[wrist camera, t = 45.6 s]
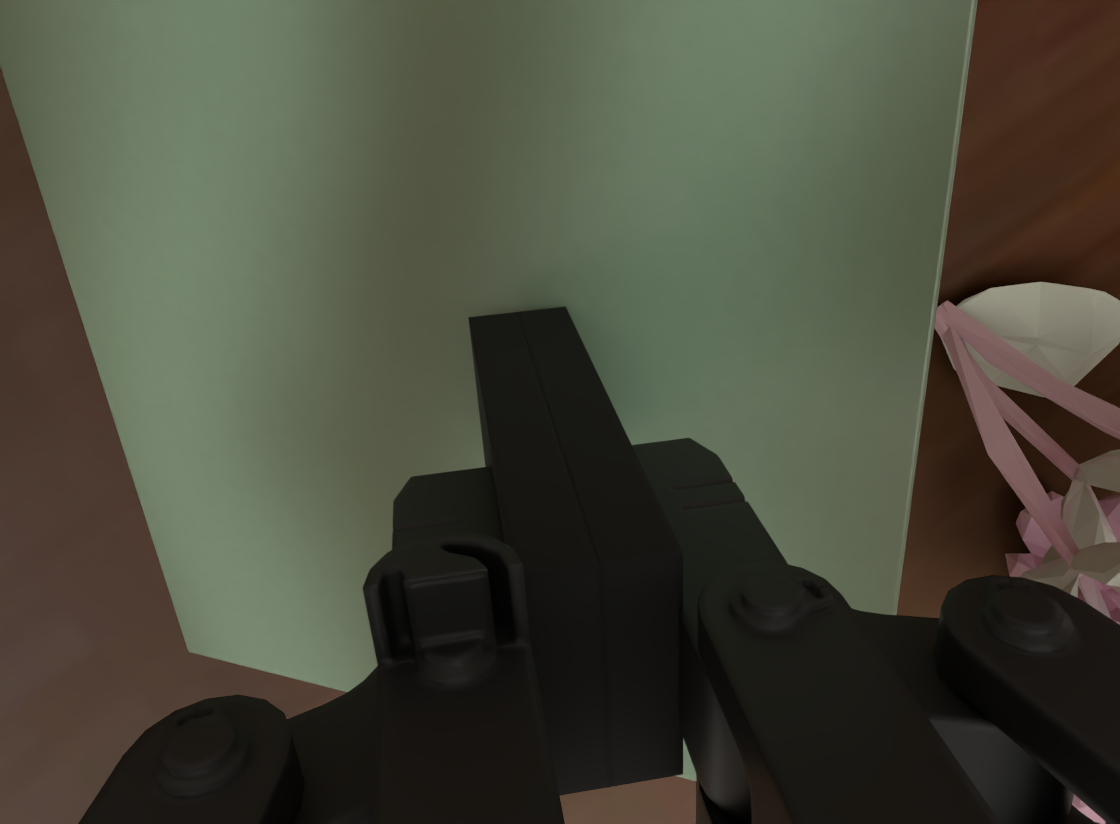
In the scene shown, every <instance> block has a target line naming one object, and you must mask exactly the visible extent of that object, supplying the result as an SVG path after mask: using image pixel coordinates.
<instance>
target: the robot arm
mask: <svg viewBox="0 0 1120 824" xmlns="http://www.w3.org/2000/svg"><path fill="white" fill-rule="evenodd" d="M468 318H469V327H470V336H471V345H472V353H473V362H474V371H475V380H476V388H477V397H478V406H479V415H480V423H481V432H482V441H483V450H484V459H485V467H481V468H473V469H466V470H458V471H450V472H442V473H435V474H427V475H419V476H412V477H410V479H409V480H408V481H407V483H406V484H405V485H404V487H403V488H402V490H401V491H400V492H399V494H398V495H397V497H396V498H395V499H394V501H393V532H392V550H391V551H389V552H387V553H386V554H385V555H384V556H383V557H382V558H381V559H380V560H379V561H378V562H377V563H376V564H375V565H374V566H373V567H372V568H371V569H370V570H369V573H368V575H367V578H366V580H365V583H364V586H363V588H362V589H363V594H364V599H365V604H366V609H367V614H368V619H369V624H370V629H371V634H372V639H373V644H374V649H375V654H376V659H377V664H378V666H377V667H376V668H375V669H374V670H373V671H372V672H371V674H370V675H369V676H368V677H367V678H366V679H365V680H364V681H363V682H361V683H360V684H358V685H357V686H356V687H354V688H353V689H352V690H350V691H349V692H347V693H346V694H344V695H342V696H340V697H338V698H336V699H334V700H332V701H330V702H328V703H326V704H324V705H322V706H319V707H317V708H314V709H312V710H309V711H307V712H304V713H302V714H299V715H297V716H295V717H292V718H290V719H286V717H285V714H284V713H283V712H282V711H281V710H279V709H278V708H276V707H275V706H274V705H272V704H271V703H269V702H268V701H267V700H264V699H259V698H254V697H248V696H243V695H233V696H225V697H217V698H209V699H205V700H202V701H200V702H197V703H195V704H192V705H189V706H187V707H184V708H181V709H179V710H176V711H174V712H173V713H171V714H170V715H168V716H167V717H165V718H164V719H162V720H161V721H159V722H158V723H156V724H155V725H153V726H152V727H150V728H149V729H147V730H146V731H145V732H144V733H143V734H142V735H141V736H140V737H139V738H138V739H137V741H136V742H135V743H134V744H133V745H132V746H131V747H130V748H129V749H128V751H127V752H126V753H125V754H124V755H123V756H122V758H121V759H120V761H119V763H118V764H117V766H116V767H115V769H114V770H113V772H112V773H111V775H110V776H109V778H108V779H107V781H106V782H105V784H104V785H103V787H102V788H101V790H100V792H99V793H98V795H97V796H96V798H95V799H94V801H93V802H92V804H91V805H90V807H89V808H88V810H87V811H86V813H85V814H84V816H83V817H82V819H81V821H80V822H79V824H565V823H564V818H563V813H562V807H561V802H560V797H559V795H564V794H570V793H576V792H582V791H588V790H594V789H600V788H605V787H611V786H617V785H623V784H629V783H635V782H641V781H647V780H652V779H658V778H664V777H670V776H676V775H682V774H683V739H684V741H685V744H686V747H687V750H688V752H689V755H690V758H691V761H692V763H693V766H694V769H695V772H696V824H1100V823H1097V822H1094V821H1093V820H1091V819H1090V818H1088V817H1087V816H1086V815H1084V814H1083V813H1081V812H1080V811H1079V810H1078V809H1077V808H1076V807H1074V806H1073V805H1072V802H1073V798H1074V794H1075V795H1076V796H1077V797H1078V798H1079V799H1080V800H1081V801H1083V802H1084V803H1085V804H1086V805H1087V806H1088V807H1089V808H1091V809H1092V810H1093V811H1094V812H1095V813H1096V814H1097V815H1099V816H1100V817H1101V818H1102V819H1103V820H1104V821H1105V822H1106V823H1105V824H1120V625H1119V624H1118V623H1116V622H1115V621H1113V620H1112V619H1110V618H1109V617H1107V616H1106V615H1104V614H1103V613H1101V612H1100V611H1098V610H1097V609H1095V608H1093V607H1092V606H1090V605H1089V604H1087V603H1086V602H1084V601H1083V600H1081V599H1079V598H1077V597H1075V596H1073V595H1071V594H1069V593H1067V592H1065V591H1063V590H1061V589H1059V588H1057V587H1055V586H1052V585H1049V584H1045V583H1041V582H1038V581H1034V580H1030V579H1027V578H1023V577H1010V576H995V575H991V576H985V577H980V578H974V579H969V580H965V581H964V582H962V583H961V584H959V585H957V586H956V587H954V588H952V589H951V590H949V591H948V593H947V596H946V598H945V600H944V602H943V605H942V607H941V613H940V619H939V618H926V617H913V616H899V615H886V614H878V613H871V612H865V611H859V610H856V609H852V608H851V607H850V605H849V604H848V603H847V601H846V600H845V598H844V597H843V595H842V594H841V593H840V592H839V591H838V590H837V589H835V588H834V587H833V586H832V585H831V584H830V583H829V582H828V581H827V580H826V579H825V578H823V577H820V576H818V575H816V574H814V573H812V572H810V571H808V570H806V569H804V568H802V567H797V566H792V565H788V563H787V562H786V560H785V558H784V557H783V555H782V554H781V552H780V551H779V549H778V548H777V546H776V544H775V543H774V541H773V540H772V538H771V537H770V535H769V534H768V532H767V531H766V529H765V527H764V526H763V524H762V523H761V521H760V520H759V518H758V517H757V515H756V513H755V512H754V510H753V509H752V507H751V506H750V504H749V503H748V501H746V502H745V497H744V495H743V493H742V492H741V490H740V489H739V487H738V486H737V484H736V482H733V479H732V476H731V475H730V473H729V472H728V470H727V469H726V467H725V465H724V464H723V462H722V461H721V459H720V458H719V456H718V455H717V454H715V453H714V452H712V451H710V450H709V449H707V448H705V447H704V446H702V445H701V444H699V443H697V442H696V441H694V440H692V439H691V438H683V439H675V440H667V441H660V442H652V443H644V444H636V445H631V442H630V440H629V438H628V436H627V434H626V432H625V430H624V428H623V426H622V424H621V421H620V419H619V417H618V415H617V413H616V411H615V409H614V407H613V405H612V403H611V400H610V398H609V396H608V394H607V392H606V390H605V388H604V386H603V384H602V382H601V379H600V377H599V375H598V373H597V371H596V369H595V367H594V365H593V363H592V361H591V358H590V356H589V354H588V352H587V350H586V348H585V346H584V344H583V342H582V340H581V337H580V335H579V333H578V331H577V329H576V327H575V325H574V323H573V321H572V319H571V316H570V314H569V312H568V310H567V308H566V307H557V308H548V309H539V310H530V311H521V312H512V313H503V314H494V315H485V316H476V317H468Z"/></svg>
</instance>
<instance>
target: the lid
mask: <svg viewBox="0 0 1120 824" xmlns="http://www.w3.org/2000/svg"><path fill="white" fill-rule="evenodd" d="M977 2H978V0H0V67H1V71H2V74H3V77H4V80H5V83H6V86H7V89H8V92H9V95H10V99H11V102H12V105H13V108H14V111H15V114H16V117H17V120H18V123H19V126H20V130H21V133H22V136H23V139H24V142H25V145H26V148H27V151H28V154H29V158H30V161H31V164H32V167H33V170H34V173H35V176H36V179H37V182H38V186H39V189H40V192H41V195H42V198H43V201H44V204H45V207H46V210H47V214H48V217H49V220H50V223H51V226H52V229H53V232H54V235H55V238H56V242H57V245H58V248H59V251H60V254H61V257H62V260H63V263H64V266H65V270H66V273H67V276H68V279H69V282H70V285H71V288H72V291H73V294H74V298H75V301H76V304H77V307H78V310H79V313H80V316H81V319H82V322H83V326H84V329H85V332H86V335H87V338H88V341H89V344H90V347H91V350H92V354H93V357H94V360H95V363H96V366H97V369H98V372H99V375H100V378H101V382H102V385H103V388H104V391H105V394H106V397H107V400H108V403H109V406H110V410H111V413H112V416H113V419H114V422H115V425H116V428H117V431H118V434H119V438H120V441H121V444H122V447H123V450H124V453H125V456H126V459H127V462H128V466H129V469H130V472H131V475H132V478H133V481H134V484H135V487H136V490H137V494H138V497H139V500H140V503H141V506H142V509H143V512H144V515H145V518H146V522H147V525H148V528H149V531H150V534H151V537H152V540H153V543H154V546H155V550H156V553H157V556H158V559H159V562H160V565H161V568H162V571H163V574H164V578H165V581H166V584H167V587H168V590H169V593H170V596H171V599H172V602H173V605H174V609H175V612H176V615H177V618H178V621H179V624H180V627H181V630H182V633H183V637H184V640H185V643H186V646H187V649H188V651H189V652H191V653H195V654H199V655H203V656H207V657H211V658H215V659H219V660H223V661H226V662H230V663H234V664H238V665H242V666H246V667H250V668H254V669H258V670H262V671H266V672H270V673H274V674H278V675H281V676H285V677H289V678H293V679H297V680H301V681H305V682H309V683H313V684H317V685H321V686H325V687H329V688H333V689H336V690H340V691H344V692H349V691H350V690H352V689H353V688H354V687H356V686H357V685H358V684H360V683H361V682H363V681H364V680H365V679H366V678H367V677H368V676H369V675H370V674H371V672H372V671H373V670H374V669H375V668H376V667H377V666H378V664H377V659H376V654H375V649H374V644H373V639H372V634H371V629H370V624H369V619H368V614H367V609H366V604H365V599H364V594H363V589H362V588H363V586H364V583H365V580H366V578H367V575H368V573H369V570H370V569H371V568H372V567H373V566H374V565H375V564H376V563H377V562H378V561H379V560H380V559H381V558H382V557H383V556H384V555H385V554H386V553H387V552H389V551H391V550H392V532H393V501H394V499H395V498H396V497H397V495H398V494H399V492H400V491H401V490H402V488H403V487H404V485H405V484H406V483H407V481H408V480H409V479H410V477H412V476H419V475H427V474H435V473H442V472H450V471H458V470H466V469H473V468H481V467H485V459H484V450H483V441H482V432H481V423H480V415H479V406H478V397H477V388H476V380H475V371H474V362H473V353H472V345H471V336H470V327H469V318H468V317H476V316H485V315H494V314H503V313H512V312H521V311H530V310H539V309H548V308H557V307H566V308H567V310H568V312H569V314H570V316H571V319H572V321H573V323H574V325H575V327H576V329H577V331H578V333H579V335H580V337H581V340H582V342H583V344H584V346H585V348H586V350H587V352H588V354H589V356H590V358H591V361H592V363H593V365H594V367H595V369H596V371H597V373H598V375H599V377H600V379H601V382H602V384H603V386H604V388H605V390H606V392H607V394H608V396H609V398H610V400H611V403H612V405H613V407H614V409H615V411H616V413H617V415H618V417H619V419H620V421H621V424H622V426H623V428H624V430H625V432H626V434H627V436H628V438H629V440H630V442H631V445H636V444H644V443H652V442H660V441H667V440H675V439H683V438H691V439H692V440H694V441H696V442H697V443H699V444H701V445H702V446H704V447H705V448H707V449H709V450H710V451H712V452H714V453H715V454H717V455H718V456H719V458H720V459H721V461H722V462H723V464H724V465H725V467H726V469H727V470H728V472H729V473H730V475H731V476H732V479H733V482H736V484H737V486H738V487H739V489H740V490H741V492H742V493H743V495H744V497H745V502H746V501H748V503H749V504H750V506H751V507H752V509H753V510H754V512H755V513H756V515H757V517H758V518H759V520H760V521H761V523H762V524H763V526H764V527H765V529H766V531H767V532H768V534H769V535H770V537H771V538H772V540H773V541H774V543H775V544H776V546H777V548H778V549H779V551H780V552H781V554H782V555H783V557H784V558H785V560H786V562H787V563H788V565H792V566H797V567H802V568H804V569H806V570H808V571H810V572H812V573H814V574H816V575H818V576H820V577H823V578H825V579H826V580H827V581H828V582H829V583H830V584H831V585H832V586H833V587H834V588H835V589H837V590H838V591H839V592H840V593H841V594H842V595H843V597H844V598H845V600H846V601H847V603H848V604H849V605H850V607H851V608H852V609H856V610H859V611H865V612H871V613H878V614H886V615H896V614H897V607H898V599H899V592H900V584H901V576H902V569H903V561H904V554H905V546H906V539H907V531H908V524H909V516H910V508H911V501H912V493H913V486H914V478H915V471H916V463H917V455H918V448H919V440H920V433H921V425H922V418H923V410H924V402H925V395H926V387H927V380H928V372H929V365H930V357H931V350H932V342H933V334H934V327H935V319H936V312H937V304H938V297H939V289H940V281H941V274H942V266H943V259H944V251H945V244H946V236H947V229H948V221H949V213H950V206H951V198H952V191H953V183H954V176H955V168H956V160H957V153H958V145H959V138H960V130H961V123H962V115H963V108H964V100H965V92H966V85H967V77H968V70H969V62H970V55H971V47H972V39H973V32H974V24H975V17H976V9H977ZM676 776H678V777H682V778H686V779H690V780H694V781H696V772H695V769H694V766H693V763H692V761H691V758H690V755H689V752H688V750H687V747H686V744H685V741H684V739H683V774H682V775H676Z"/></svg>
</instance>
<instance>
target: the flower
mask: <svg viewBox="0 0 1120 824" xmlns="http://www.w3.org/2000/svg"><path fill="white" fill-rule="evenodd" d="M934 328H935V330H936V331H937V333H938V334H939V336H940V337H941V340H942V342H943V344H944V347H945V349H946V352H947V354H948V356H949V359H950V361H951V363H952V366H953V368H954V370H956V371H957V373H958V376H959V379H960V381H961V384H962V387H963V389H964V392H965V395H966V397H967V400H968V403H969V405H970V408H971V411H972V413H973V416H974V419H975V421H976V424H977V427H978V429H979V432H980V435H981V437H982V440H983V443H984V445H985V448H986V451H987V453H988V455H989V457H990V458H991V459H992V461H993V462H994V464H995V465H996V467H997V468H998V469H999V471H1000V472H1001V474H1002V475H1003V476H1004V478H1005V479H1006V481H1007V482H1008V483H1009V485H1010V486H1011V488H1012V489H1013V490H1014V492H1015V493H1016V495H1017V496H1018V497H1019V499H1020V500H1021V502H1022V503H1023V504H1024V506H1025V507H1026V508H1025V509H1023V510H1022V511H1020V514H1019V516H1018V518H1017V521H1016V525H1017V527H1018V530H1019V532H1020V535H1021V537H1022V539H1023V541H1024V543H1025V544H1026V546H1027V548H1028V549H1029V551H1030V552H1031V553H1029V554H1018V553H1005V556H1006V561H1007V566H1008V571H1009V576H1010V577H1023V578H1027V579H1030V580H1034V581H1038V582H1041V583H1045V584H1049V585H1052V586H1055V587H1057V588H1059V589H1061V590H1063V591H1065V592H1067V593H1069V594H1071V595H1073V596H1075V597H1077V598H1079V599H1081V600H1083V601H1084V602H1086V603H1087V604H1089V605H1090V606H1092V607H1093V608H1095V609H1097V610H1098V611H1100V612H1101V613H1103V614H1104V615H1106V616H1107V617H1109V618H1110V619H1112V620H1113V621H1115V622H1116V623H1118V624H1119V625H1120V495H1116V494H1112V495H1110V496H1108V497H1105V498H1103V499H1101V500H1099V501H1098V500H1097V498H1096V496H1095V494H1094V492H1093V490H1092V487H1091V486H1095V487H1099V488H1103V489H1107V490H1111V491H1115V492H1119V493H1120V449H1117V450H1113V451H1109V452H1107V453H1104V454H1102V455H1100V456H1097V457H1095V458H1093V459H1091V460H1088V461H1086V462H1084V463H1082V464H1078V463H1077V462H1076V461H1075V460H1074V459H1073V458H1072V457H1071V456H1069V455H1068V454H1067V453H1066V452H1065V451H1064V450H1063V449H1062V448H1061V447H1060V446H1059V445H1058V444H1057V443H1056V442H1055V441H1054V440H1053V439H1052V438H1051V437H1050V436H1049V435H1048V434H1047V433H1046V432H1044V431H1043V430H1042V429H1041V428H1040V427H1039V426H1038V425H1037V424H1036V423H1035V422H1034V421H1033V420H1032V419H1031V418H1030V417H1029V416H1028V415H1027V414H1026V413H1025V412H1024V411H1023V410H1022V409H1021V408H1019V407H1018V406H1017V405H1016V404H1015V403H1014V402H1013V401H1012V400H1011V399H1010V398H1009V397H1008V396H1007V395H1006V394H1005V393H1004V392H1003V391H1002V390H1001V389H1000V388H999V387H998V386H1000V387H1004V388H1008V389H1012V390H1016V391H1020V392H1024V393H1028V394H1032V395H1036V396H1040V397H1046V398H1048V399H1049V400H1051V401H1053V402H1055V403H1056V404H1058V405H1060V406H1061V407H1063V408H1065V409H1066V410H1068V411H1070V412H1071V413H1073V414H1075V415H1076V416H1078V417H1080V418H1081V419H1083V420H1085V421H1086V422H1088V423H1090V424H1091V425H1093V426H1095V427H1096V428H1098V429H1100V430H1101V431H1103V432H1105V433H1107V434H1109V435H1111V436H1113V437H1115V438H1118V439H1120V408H1118V407H1116V406H1114V405H1112V404H1110V403H1108V402H1106V401H1103V400H1101V399H1099V398H1097V397H1095V396H1093V395H1091V394H1089V393H1086V392H1084V391H1082V390H1080V389H1078V388H1076V387H1074V386H1075V385H1076V384H1077V383H1078V382H1079V381H1080V380H1081V379H1082V378H1083V377H1084V376H1085V375H1086V374H1088V373H1089V372H1090V371H1091V370H1092V369H1093V368H1094V367H1095V366H1096V365H1097V364H1098V363H1099V362H1100V361H1101V360H1102V359H1103V358H1105V357H1106V356H1107V355H1108V354H1109V353H1110V352H1111V351H1112V350H1113V349H1114V348H1115V347H1116V346H1117V345H1118V344H1119V342H1120V301H1119V300H1118V299H1116V298H1114V297H1113V296H1111V295H1109V294H1108V293H1106V292H1103V291H1098V290H1094V289H1089V288H1082V287H1075V286H1068V285H1061V284H1054V283H1047V282H1034V283H1026V284H1018V285H1011V286H1003V287H995V288H990V289H987V290H985V291H983V292H980V293H978V294H976V295H974V296H971V297H969V298H967V299H964V300H963V301H962V302H961V303H959V304H958V305H957V306H955V305H953V304H952V303H951V302H949V301H948V300H947V301H946V302H944V303H942V304H941V305H940V306H938V307H937V312H936V319H935V327H934ZM1002 417H1003V418H1004V419H1005V420H1006V421H1007V422H1008V423H1009V424H1010V425H1011V426H1012V427H1014V428H1015V429H1016V430H1017V431H1018V432H1019V433H1020V434H1021V435H1022V436H1024V437H1025V438H1026V439H1027V440H1028V441H1029V442H1030V443H1031V444H1032V445H1033V446H1035V447H1036V448H1037V449H1038V450H1039V451H1040V452H1041V453H1042V454H1043V455H1045V456H1046V457H1047V458H1048V459H1049V460H1050V461H1051V462H1052V463H1053V464H1054V465H1056V466H1057V467H1058V468H1059V469H1060V470H1061V471H1062V472H1063V473H1064V474H1066V475H1067V476H1068V477H1069V478H1070V479H1071V480H1072V484H1071V486H1070V489H1069V491H1068V492H1067V494H1066V495H1065V497H1063V496H1061V495H1059V494H1057V493H1055V492H1053V491H1051V492H1049V493H1048V494H1046V492H1045V490H1044V488H1043V487H1042V485H1041V483H1040V482H1039V480H1038V478H1037V476H1036V475H1035V473H1034V471H1033V470H1032V468H1031V466H1030V464H1029V463H1028V461H1027V459H1026V458H1025V456H1024V454H1023V453H1022V451H1021V449H1020V447H1019V446H1018V444H1017V442H1016V441H1015V439H1014V437H1013V435H1012V434H1011V432H1010V430H1009V429H1008V427H1007V425H1006V423H1005V422H1004V420H1003V418H1002ZM1072 805H1073V806H1074V807H1076V808H1077V809H1078V810H1079V811H1080V812H1081V813H1083V814H1084V815H1086V816H1087V817H1088V818H1090V819H1091V820H1093V821H1094V822H1097V823H1100V824H1105V823H1106V822H1105V821H1104V820H1103V819H1102V818H1101V817H1100V816H1099V815H1097V814H1096V813H1095V812H1094V811H1093V810H1092V809H1091V808H1089V807H1088V806H1087V805H1086V804H1085V803H1084V802H1083V801H1081V800H1080V799H1079V798H1078V797H1077V796H1076V795H1075V794H1074V798H1073V802H1072Z"/></svg>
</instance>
